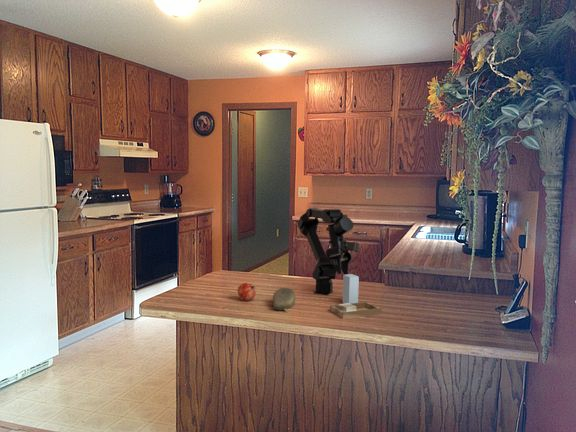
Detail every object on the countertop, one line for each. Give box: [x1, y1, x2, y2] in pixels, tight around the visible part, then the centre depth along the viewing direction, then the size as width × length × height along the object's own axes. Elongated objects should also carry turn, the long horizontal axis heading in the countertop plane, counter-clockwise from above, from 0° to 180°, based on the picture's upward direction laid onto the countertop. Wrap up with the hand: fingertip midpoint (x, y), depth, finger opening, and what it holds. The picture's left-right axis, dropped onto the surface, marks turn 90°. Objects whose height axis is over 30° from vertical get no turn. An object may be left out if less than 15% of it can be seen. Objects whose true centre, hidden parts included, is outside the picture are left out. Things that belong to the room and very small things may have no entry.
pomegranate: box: [236, 282, 257, 302], centre depth 195 cm, size 7×7×10 cm
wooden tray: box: [329, 301, 383, 320], centre depth 177 cm, size 10×16×3 cm, turn 112°
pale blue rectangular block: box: [342, 273, 360, 304], centre depth 187 cm, size 5×4×12 cm
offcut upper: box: [338, 303, 356, 312], centre depth 176 cm, size 5×4×2 cm
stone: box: [272, 287, 296, 312], centre depth 187 cm, size 9×14×10 cm, turn 177°
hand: (343, 275), depth 193 cm, fingers open, 9 cm apart
